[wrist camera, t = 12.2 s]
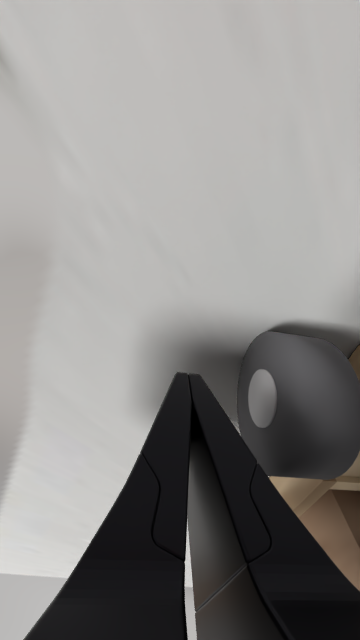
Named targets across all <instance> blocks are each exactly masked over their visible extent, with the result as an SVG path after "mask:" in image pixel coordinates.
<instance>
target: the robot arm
mask: <svg viewBox="0 0 360 640" xmlns="http://www.w3.org/2000/svg"><path fill="white" fill-rule="evenodd" d="M187 518H188V530H189V543H190V555H191V567H192V580H193V592H194V605H195V611H196V613H195V618H196V631H197V640H360V591H359V590H358V589H357V588H356V587H355V586H354V585H353V584H352V583H351V582H350V581H349V580H348V579H347V578H346V577H345V576H344V574H343V573H342V572H341V571H340V570H339V568H338V567H337V566H336V565H335V564H334V562H333V561H332V560H331V558H330V557H329V556H328V555H327V553H326V552H325V551H324V550H323V548H322V547H321V546H320V545H319V543H318V542H317V541H316V540H315V538H314V537H313V536H312V534H311V533H310V532H309V531H308V529H307V528H306V527H305V526H304V524H303V523H302V522H301V521H300V519H299V518H298V517H297V516H296V514H295V513H294V512H293V510H292V509H291V508H290V506H289V505H288V504H287V502H286V501H285V500H284V498H283V497H282V496H281V495H280V493H279V492H278V490H277V489H276V487H275V486H274V485H273V483H272V482H271V480H270V479H269V477H268V476H267V475H266V473H265V472H264V470H263V469H262V467H261V466H260V464H259V463H257V460H256V458H255V457H254V455H253V454H252V452H251V451H250V449H249V448H248V446H247V445H246V443H245V442H244V440H243V439H242V437H241V436H240V434H239V433H238V431H237V430H236V428H235V427H234V425H233V424H232V422H231V421H230V419H229V418H228V416H227V415H226V413H225V412H224V410H223V409H222V407H221V406H220V404H219V403H218V401H217V400H216V398H215V397H214V395H213V394H212V392H211V391H210V389H209V388H208V386H207V385H206V383H205V382H204V380H203V379H202V377H201V376H200V375H198V374H191V373H190V374H187V373H182V372H177V373H176V374H175V376H174V378H173V381H172V383H171V385H170V387H169V389H168V392H167V394H166V396H165V398H164V401H163V403H162V405H161V407H160V410H159V412H158V414H157V416H156V418H155V421H154V423H153V425H152V427H151V430H150V432H149V434H148V436H147V438H146V441H145V443H144V445H143V447H142V450H141V452H140V454H139V456H138V458H137V460H136V463H135V465H134V467H133V469H132V471H131V473H130V475H129V477H128V479H127V481H126V483H125V485H124V487H123V489H122V491H121V492H120V494H119V496H118V498H117V499H116V501H115V503H114V505H113V506H112V508H111V510H110V511H109V513H108V515H107V516H106V518H105V520H104V521H103V523H102V524H101V526H100V528H99V529H98V531H97V533H96V534H95V536H94V538H93V539H92V541H91V543H90V544H89V546H88V548H87V549H86V551H85V552H84V554H83V556H82V557H81V559H80V561H79V562H78V564H77V566H76V567H75V569H74V570H73V572H72V573H71V575H70V576H69V578H68V580H67V581H66V582H65V584H64V586H63V587H62V588H61V590H60V591H59V593H58V594H57V596H56V597H55V598H54V600H53V601H52V603H51V604H50V605H49V607H48V608H47V609H46V611H45V612H44V613H43V614H42V616H41V617H40V619H39V620H38V621H37V623H36V624H35V625H34V627H33V628H32V629H31V630H30V632H29V633H28V634H27V636H26V637H25V638H24V639H23V640H188V638H187V626H186V614H185V598H184V597H185V592H184V591H185V590H184V582H185V563H184V562H185V554H186V532H187Z"/></svg>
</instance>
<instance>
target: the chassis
mask: <svg viewBox="0 0 360 640" xmlns="http://www.w3.org/2000/svg"><path fill="white" fill-rule="evenodd" d="M348 360H349V362H350V364H351V365H352V367H353V369H354V371H355V373H356V375H357V378H358V380H359V383H360V344H359V346H358V347H357V348H356V350H355V351H354V352H353V354H352V355H351V357H350V358H349V359H348ZM269 479H270V480H271V482H272V483H273V485H274V486H275V487H276V489H277V490H278V492H279V493H280V495H281V496H282V497H283V498H284V500H285V501H286V502H287V504H288V505H289V506H290V508H291V509H292V510H293V512H294V513H295V514H296V516H297V517H298V518H299V517H300V516H301V515H302V514H303V513H304V512H305V511H306V510H308V509H309V508H310V507H311V506H312V505H313V504H314V503H315V502H316V501H317V500H318V499H319V498H320V497H321V496H322V495H324V494H325V493H326V492H327V491H328V490H329V489H337V490H354V491H360V451H359V454H358V456H357V458H356V460H355V461H354V463H353V465H352V466H351V467H350V468H349V469H348V470H347V471H346V472H345V473H344V474H342V475H341V476H339V477H337V478H335V479H330V480H322V479H306V478H290V477H275V476H270V478H269Z"/></svg>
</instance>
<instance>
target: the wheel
mask: <svg viewBox="0 0 360 640" xmlns="http://www.w3.org/2000/svg"><path fill="white" fill-rule="evenodd" d="M237 412H238V422H239V428H240V433H241V437H242V439H243V440H244V442H245V443H246V445H247V446H248V448H249V449H250V451H251V452H252V454H253V455H254V457H255V458H256V460H257V463H259V464H260V466H261V467H262V469H263V470H264V472H265V473H266V475H267V476H275V477H290V478H306V479H322V480H330V479H335V478H337V477H339V476H341V475H342V474H344V473H345V472H346V471H347V470H348V469H349V468H350V467H351V466H352V465H353V463H354V461H355V460H356V458H357V456H358V454H359V451H360V383H359V380H358V378H357V375H356V373H355V371H354V369H353V367H352V365H351V364H350V362H349V360H348V359H347V358H346V356H345V355H344V354H343V353H342V352H341V351H340V350H339V349H338V348H337V347H336V346H335V345H333V344H332V343H330V342H328V341H326V340H324V339H320V338H314V337H307V336H300V335H293V334H286V333H279V332H271V331H268V332H264V333H262V334H260V335H259V336H257V337H256V338H255V339H254V340H253V342H252V343H251V344H250V346H249V348H248V350H247V352H246V354H245V357H244V359H243V362H242V366H241V370H240V374H239V381H238V390H237Z"/></svg>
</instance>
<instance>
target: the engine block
mask: <svg viewBox="0 0 360 640" xmlns="http://www.w3.org/2000/svg"><path fill="white" fill-rule="evenodd" d="M299 519H300V521H301V522H302V523H303V524H304V526H305V527H306V528H307V529H308V531H309V532H310V533H311V534H312V536H313V537H314V538H315V540H316V541H317V542H318V543H319V545H320V546H321V547H322V548H323V550H324V551H325V552H326V553H327V555H328V556H329V557H330V558H331V560H332V561H333V562H334V564H335V565H336V566H337V567H338V568H339V570H340V571H341V572H342V573H343V574H344V576H345V577H346V578H347V579H348V580H349V581H350V582H351V583H352V584H353V585H354V586H355V587H356V588H357V589H358V590H359V591H360V491H354V490H337V489H329V490H328V491H327V492H326V493H325V494H324V495H322V496H321V497H320V498H319V499H318V500H317V501H316V502H315V503H314V504H313V505H312V506H311V507H310V508H309V509H308V510H306V511H305V512H304V513H303V514H302V515H301V516H300V517H299Z"/></svg>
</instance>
